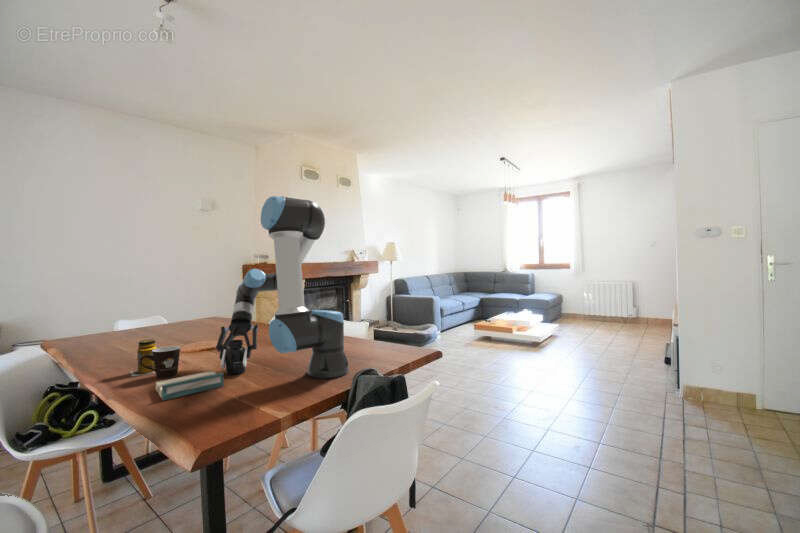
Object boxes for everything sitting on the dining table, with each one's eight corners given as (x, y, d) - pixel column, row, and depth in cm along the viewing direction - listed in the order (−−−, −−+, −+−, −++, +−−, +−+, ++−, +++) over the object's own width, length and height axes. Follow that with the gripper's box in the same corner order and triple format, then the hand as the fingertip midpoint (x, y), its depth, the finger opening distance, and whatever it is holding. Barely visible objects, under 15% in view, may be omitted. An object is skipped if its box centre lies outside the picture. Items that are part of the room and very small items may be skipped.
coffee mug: (183, 371, 134) (183, 345, 134) (177, 378, 126) (176, 350, 126) (148, 374, 130) (147, 348, 130) (138, 381, 122) (138, 353, 122)
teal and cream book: (223, 386, 116) (223, 373, 116) (163, 400, 104) (162, 386, 104) (212, 377, 126) (212, 365, 126) (155, 389, 114) (155, 376, 114)
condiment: (159, 371, 134) (159, 340, 133) (132, 377, 128) (131, 344, 128) (156, 367, 139) (155, 338, 139) (129, 372, 133) (128, 341, 133)
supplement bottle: (237, 375, 127) (237, 343, 127) (221, 374, 128) (220, 342, 128) (249, 370, 134) (249, 339, 134) (234, 369, 135) (233, 338, 135)
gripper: (268, 319, 148) (263, 368, 132) (218, 322, 144) (206, 373, 128) (266, 308, 143) (260, 358, 127) (214, 311, 139) (201, 362, 123)
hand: (233, 365), depth 128 cm, fingers closed on supplement bottle, 7 cm apart
